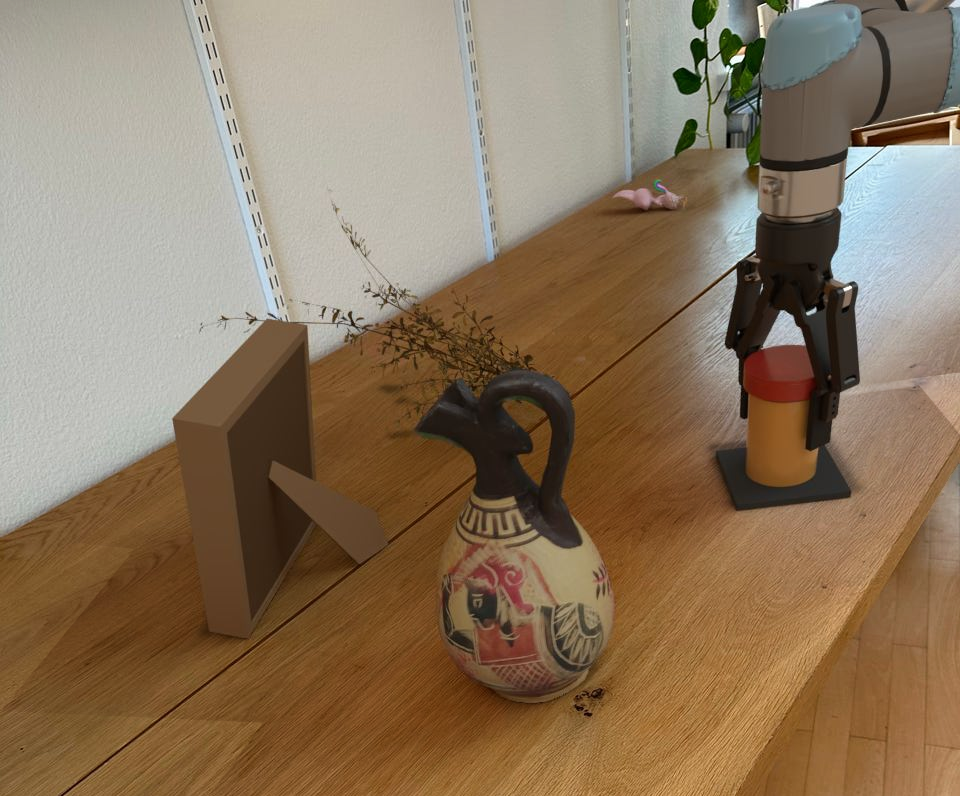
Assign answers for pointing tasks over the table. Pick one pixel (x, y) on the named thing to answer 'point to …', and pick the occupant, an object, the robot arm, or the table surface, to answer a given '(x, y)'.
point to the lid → (779, 374)
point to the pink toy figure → (646, 199)
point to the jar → (778, 443)
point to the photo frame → (259, 478)
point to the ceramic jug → (517, 549)
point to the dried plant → (426, 341)
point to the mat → (756, 495)
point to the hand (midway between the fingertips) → (783, 429)
